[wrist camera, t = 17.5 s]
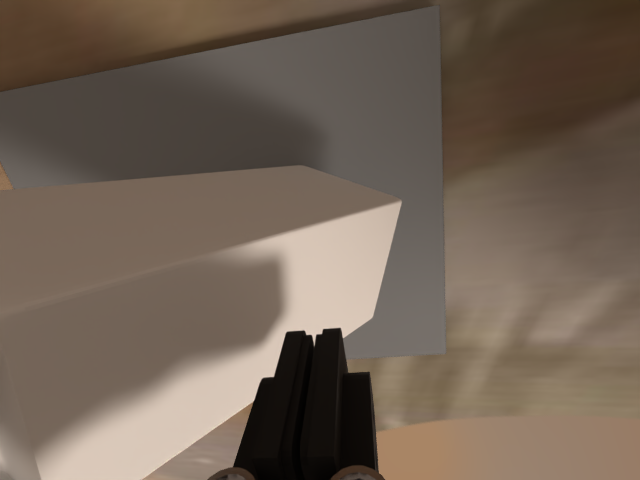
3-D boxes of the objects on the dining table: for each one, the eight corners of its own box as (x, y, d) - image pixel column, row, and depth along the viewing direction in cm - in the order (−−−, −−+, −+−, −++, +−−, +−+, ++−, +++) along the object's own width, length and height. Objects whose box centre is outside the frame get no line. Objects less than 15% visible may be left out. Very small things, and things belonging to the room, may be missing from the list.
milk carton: (375, 317, 20) (-225, 740, 6) (289, 266, 24) (-187, 446, 10) (405, 199, 17) (-629, 483, 3) (302, 163, 21) (-344, 216, 7)
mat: (436, 8, 18) (439, 4, 17) (443, 346, 26) (446, 353, 25) (-19, 98, 22) (-32, 98, 21) (113, 366, 30) (107, 373, 29)
